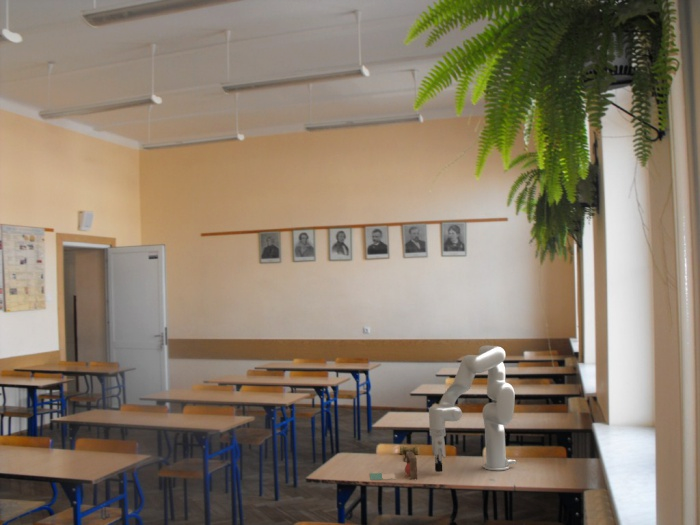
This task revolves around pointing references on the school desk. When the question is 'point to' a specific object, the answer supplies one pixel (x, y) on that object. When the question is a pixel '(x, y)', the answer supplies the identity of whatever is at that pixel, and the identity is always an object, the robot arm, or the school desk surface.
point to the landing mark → (376, 476)
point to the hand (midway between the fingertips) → (438, 471)
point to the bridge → (412, 465)
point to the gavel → (408, 449)
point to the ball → (407, 469)
